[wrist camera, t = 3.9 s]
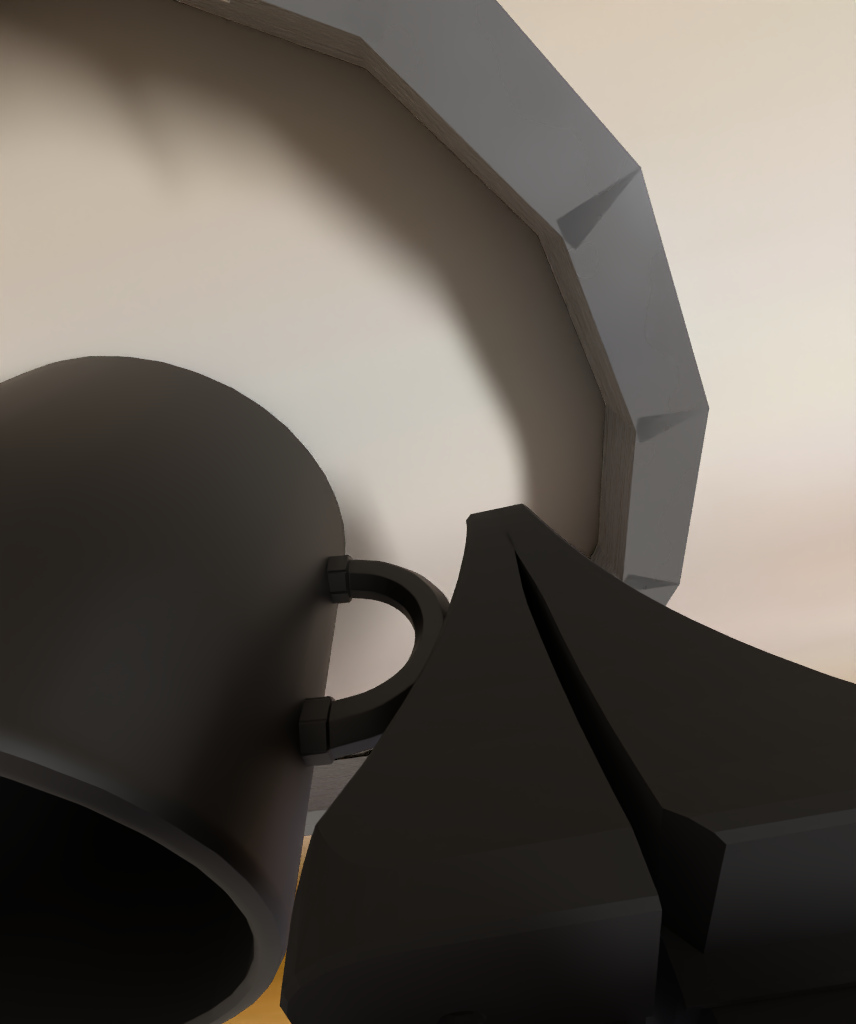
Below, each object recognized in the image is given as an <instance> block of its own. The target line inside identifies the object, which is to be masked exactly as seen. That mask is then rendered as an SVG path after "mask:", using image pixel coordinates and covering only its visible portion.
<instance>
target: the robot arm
mask: <svg viewBox="0 0 856 1024" xmlns="http://www.w3.org/2000/svg"><path fill="white" fill-rule="evenodd" d="M466 523H467V537H466V544H465V551H464V556H463V560H462V565H461V569H460V573H459V577H458V581H457V584H456V587H455V590H454V593H453V596H452V599H451V602H450V605H449V608H448V612H447V614H446V617H445V619H444V622H443V624H442V627H441V629H440V632H439V634H438V636H437V639H436V641H435V643H434V645H433V647H432V650H431V652H430V654H429V656H428V658H427V660H426V662H425V664H424V666H423V668H422V669H421V671H420V673H419V675H418V677H417V679H416V681H415V683H414V685H413V686H412V688H411V690H410V692H409V694H408V695H407V697H406V699H405V700H404V702H403V704H402V705H401V707H400V708H399V710H398V712H397V713H396V715H395V716H394V718H393V719H392V721H391V722H390V724H389V725H388V727H387V728H386V730H385V732H384V733H383V735H382V736H381V738H380V739H379V741H378V742H377V744H376V745H375V747H374V748H373V750H372V751H371V753H370V754H369V756H368V757H367V758H366V760H365V761H364V763H363V764H362V765H361V767H360V768H359V769H358V770H357V772H356V773H355V774H354V776H353V777H352V778H351V780H350V781H349V782H348V783H347V785H346V786H345V787H344V789H343V790H342V791H341V793H340V794H339V795H338V796H337V798H336V799H335V800H334V802H333V803H332V804H331V806H330V807H329V808H328V809H327V811H326V812H325V813H324V815H323V816H322V817H321V818H320V820H319V821H318V822H317V823H316V825H315V828H314V831H313V834H312V837H311V840H310V844H309V847H308V851H307V854H306V857H305V861H304V864H303V869H302V873H301V877H300V881H299V885H298V889H297V892H296V896H295V900H294V905H293V910H292V915H291V922H290V930H289V937H288V945H287V952H286V960H285V967H284V974H283V982H282V989H281V999H280V1007H281V1008H282V1010H283V1011H284V1013H285V1015H286V1016H287V1018H288V1019H289V1020H290V1022H291V1023H292V1024H856V684H854V683H851V682H848V681H845V680H842V679H838V678H835V677H832V676H829V675H827V674H824V673H821V672H818V671H815V670H813V669H810V668H807V667H805V666H802V665H799V664H797V663H794V662H791V661H789V660H786V659H783V658H781V657H778V656H775V655H773V654H770V653H767V652H765V651H762V650H760V649H758V648H755V647H753V646H750V645H748V644H745V643H743V642H740V641H738V640H736V639H733V638H731V637H729V636H727V635H724V634H722V633H720V632H718V631H716V630H713V629H711V628H709V627H707V626H705V625H702V624H700V623H698V622H696V621H694V620H692V619H690V618H688V617H686V616H683V615H681V614H679V613H677V612H675V611H673V610H671V609H670V608H668V607H666V606H664V605H662V604H660V603H659V602H657V601H655V600H653V599H651V598H650V597H648V596H646V595H644V594H642V593H640V592H639V591H637V590H635V589H634V588H632V587H631V586H629V585H627V584H626V583H624V582H623V581H621V580H620V579H618V578H617V577H615V576H614V575H612V574H611V573H609V572H608V571H606V570H605V569H603V568H602V567H600V566H599V565H597V564H596V563H595V562H593V561H592V560H590V559H589V558H588V557H586V556H585V555H584V554H582V553H581V552H580V551H578V550H577V549H576V548H575V547H573V546H572V545H571V544H569V543H568V542H567V541H566V540H564V539H563V538H562V537H561V536H559V535H558V534H557V533H556V532H555V531H553V530H552V529H551V528H550V527H549V526H548V525H546V524H545V523H544V522H543V521H542V520H541V519H540V518H539V517H538V516H536V515H535V514H534V513H533V512H532V511H531V510H530V509H529V508H528V507H527V506H525V505H524V504H518V505H513V506H508V507H503V508H499V509H494V510H489V511H484V512H480V513H475V514H471V515H470V516H469V517H468V519H467V520H466Z"/></svg>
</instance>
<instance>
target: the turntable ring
mask: <svg viewBox="0 0 856 1024" xmlns="http://www.w3.org/2000/svg"><path fill="white" fill-rule="evenodd" d="M175 1H178V2H181V3H184V4H186V5H189V6H192V7H195V8H197V9H200V10H203V11H206V12H209V13H211V14H214V15H217V16H220V17H223V18H225V19H228V20H231V21H234V22H237V23H239V24H242V25H245V26H248V27H251V28H253V29H256V30H259V31H262V32H265V33H267V34H270V35H273V36H276V37H279V38H281V39H284V40H287V41H290V42H293V43H295V44H298V45H301V46H304V47H307V48H309V49H312V50H315V51H318V52H321V53H323V54H326V55H329V56H332V57H335V58H337V59H340V60H343V61H346V62H349V63H351V64H354V65H357V66H360V67H363V68H365V69H367V70H368V71H369V72H370V73H371V74H372V75H373V76H374V77H375V78H376V79H377V80H378V81H380V82H381V83H382V84H383V85H384V86H385V87H386V88H387V89H388V90H389V91H390V92H391V93H392V94H393V95H394V96H395V97H396V98H397V99H398V100H399V101H400V102H401V103H402V104H403V105H404V106H405V107H406V108H407V109H408V110H409V111H410V112H411V113H413V114H414V115H415V116H416V117H417V118H418V119H419V120H420V121H421V122H422V123H423V124H424V125H425V126H426V127H427V128H428V129H429V130H430V131H431V132H432V133H433V134H434V135H435V136H436V137H437V138H438V139H439V140H440V141H441V142H442V143H443V144H444V145H445V146H447V147H448V148H449V149H450V150H451V151H452V152H453V153H454V154H455V155H456V156H457V157H458V158H459V159H460V160H461V161H462V162H463V163H464V164H465V165H466V166H467V167H468V168H469V169H470V170H471V171H472V172H473V173H474V174H475V175H476V176H477V177H478V178H480V179H481V180H482V181H483V182H484V183H485V184H486V185H487V186H488V187H489V188H490V189H491V190H492V191H493V192H494V193H495V194H496V195H497V196H498V197H499V198H500V199H501V200H502V201H503V202H504V203H505V204H506V205H507V206H508V207H509V208H510V209H511V210H512V211H514V212H515V213H516V214H517V215H518V216H519V217H520V218H521V219H522V220H523V221H524V222H525V223H526V224H527V225H528V226H529V227H530V228H531V229H532V230H533V231H534V232H535V233H536V234H537V235H538V237H539V240H540V242H541V245H542V247H543V250H544V252H545V255H546V257H547V260H548V262H549V265H550V267H551V270H552V272H553V275H554V277H555V280H556V282H557V285H558V287H559V290H560V292H561V295H562V297H563V300H564V302H565V305H566V307H567V310H568V312H569V315H570V317H571V320H572V322H573V325H574V327H575V330H576V332H577V335H578V337H579V340H580V342H581V345H582V347H583V350H584V352H585V355H586V357H587V359H588V362H589V364H590V367H591V369H592V372H593V374H594V377H595V379H596V382H597V384H598V387H599V389H600V392H601V394H602V397H603V399H604V402H605V422H604V440H603V458H602V477H601V495H600V513H599V532H598V544H597V546H596V548H595V550H594V552H593V554H592V556H591V558H590V560H592V561H593V562H595V563H596V564H597V565H599V566H600V567H602V568H603V569H605V570H606V571H608V572H609V573H611V574H612V575H614V576H615V577H617V578H618V579H620V580H621V581H623V582H624V583H626V584H627V585H629V586H631V587H632V588H634V589H635V590H637V591H639V592H640V593H642V594H644V595H646V596H648V597H650V598H651V599H653V600H655V601H657V602H659V603H660V604H662V605H664V606H666V604H667V602H668V601H669V599H670V598H671V596H672V595H673V593H674V592H675V590H676V589H677V587H678V586H679V584H680V578H681V572H682V566H683V560H684V555H685V549H686V543H687V537H688V531H689V525H690V519H691V513H692V507H693V501H694V495H695V489H696V483H697V477H698V471H699V465H700V459H701V453H702V447H703V441H704V435H705V429H706V423H707V417H708V412H709V406H708V402H707V399H706V395H705V392H704V388H703V385H702V381H701V378H700V374H699V371H698V367H697V364H696V360H695V357H694V353H693V350H692V346H691V343H690V339H689V335H688V332H687V328H686V325H685V321H684V318H683V314H682V311H681V307H680V304H679V300H678V297H677V293H676V290H675V286H674V283H673V279H672V276H671V272H670V269H669V265H668V262H667V258H666V254H665V251H664V247H663V244H662V240H661V237H660V233H659V230H658V226H657V223H656V219H655V216H654V212H653V209H652V205H651V202H650V198H649V195H648V191H647V188H646V184H645V181H644V177H643V174H642V170H641V166H639V165H638V164H637V162H636V161H635V160H634V159H633V158H632V157H631V155H630V154H629V153H628V152H627V151H626V150H625V149H624V147H623V146H622V145H621V144H620V143H619V142H618V140H617V139H616V138H615V137H614V136H613V135H612V134H611V132H610V131H609V130H608V129H607V128H606V127H605V125H604V124H603V123H602V122H601V121H600V120H599V119H598V117H597V116H596V115H595V114H594V113H593V112H592V110H591V109H590V108H589V107H588V106H587V105H586V103H585V102H584V101H583V100H582V99H581V98H580V97H579V95H578V94H577V93H576V92H575V91H574V90H573V88H572V87H571V86H570V85H569V84H568V83H567V82H566V80H565V79H564V78H563V77H562V76H561V75H560V73H559V72H558V71H557V70H556V69H555V68H554V67H553V65H552V64H551V63H550V62H549V61H548V60H547V58H546V57H545V56H544V55H543V54H542V53H541V52H540V50H539V49H538V48H537V47H536V46H535V45H534V43H533V42H532V41H531V40H530V39H529V38H528V36H527V35H526V34H525V33H524V32H523V31H522V30H521V28H520V27H519V26H518V25H517V24H516V23H515V21H514V20H513V19H512V18H511V17H510V16H509V15H508V13H507V12H506V11H505V10H504V9H503V8H502V6H501V5H500V4H499V3H498V2H497V1H496V0H175ZM368 756H369V755H368ZM368 756H364V757H356V758H349V759H341V760H334V762H333V763H332V764H329V765H318V766H314V770H313V776H312V783H311V790H310V797H309V804H308V810H307V817H306V824H305V831H304V836H308V835H312V834H313V831H314V828H315V825H316V823H317V822H318V821H319V820H320V818H321V817H322V816H323V815H324V813H325V812H326V811H327V809H328V808H329V807H330V806H331V804H332V803H333V802H334V800H335V799H336V798H337V796H338V795H339V794H340V793H341V791H342V790H343V789H344V787H345V786H346V785H347V783H348V782H349V781H350V780H351V778H352V777H353V776H354V774H355V773H356V772H357V770H358V769H359V768H360V767H361V765H362V764H363V763H364V761H365V760H366V758H367V757H368Z"/></svg>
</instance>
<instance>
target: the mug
mask: <svg viewBox="0 0 856 1024" xmlns="http://www.w3.org/2000/svg"><path fill="white" fill-rule="evenodd" d="M352 598H362V599H372V600H377V601H381V602H384V603H387V604H389V605H391V606H393V607H395V608H396V609H398V610H399V611H401V612H402V613H403V614H404V615H405V616H406V617H407V618H408V619H409V621H410V622H411V624H412V626H413V628H414V630H415V644H414V648H413V651H412V654H411V656H410V658H409V660H408V662H407V663H406V664H405V666H404V667H403V668H402V669H401V670H400V671H399V672H398V673H396V674H395V675H394V676H393V677H391V678H390V679H389V680H387V681H386V682H384V683H382V684H381V685H379V686H377V687H375V688H373V689H371V690H369V691H367V692H364V693H361V694H358V695H355V696H352V697H348V698H344V699H340V700H336V701H335V699H333V698H332V697H331V696H327V697H324V695H325V688H326V681H327V675H328V668H329V661H330V654H331V647H332V641H333V634H334V627H335V620H336V613H337V607H338V603H347V602H350V601H351V600H352ZM449 605H450V603H449V602H448V600H447V598H446V597H445V595H444V594H443V593H442V592H441V591H440V590H439V589H438V588H437V587H436V586H435V585H433V584H432V583H431V582H430V581H429V580H427V579H426V578H425V577H423V576H422V575H420V574H418V573H416V572H413V571H411V570H408V569H405V568H402V567H399V566H396V565H393V564H389V563H386V562H380V561H370V560H353V559H352V558H351V557H350V556H348V555H345V536H344V524H343V520H342V517H341V513H340V509H339V506H338V503H337V500H336V497H335V495H334V493H333V491H332V488H331V486H330V484H329V482H328V480H327V478H326V476H325V474H324V473H323V471H322V470H321V468H320V467H319V465H318V464H317V462H316V461H315V459H314V458H313V456H312V455H311V454H310V453H309V451H308V450H307V449H306V448H305V446H304V445H303V444H302V443H301V442H300V441H299V440H298V439H297V438H296V437H295V436H294V434H293V433H292V432H291V431H290V430H289V429H288V428H287V427H286V426H285V425H284V424H283V423H281V422H280V421H279V420H278V419H276V418H275V417H274V416H273V415H272V414H270V413H269V412H268V411H267V410H265V409H264V408H263V407H261V406H260V405H258V404H257V403H256V402H254V401H252V400H251V399H249V398H247V397H246V396H244V395H243V394H241V393H239V392H238V391H236V390H235V389H233V388H231V387H228V386H226V385H224V384H222V383H220V382H217V381H215V380H213V379H211V378H208V377H206V376H204V375H201V374H199V373H196V372H193V371H190V370H187V369H184V368H180V367H177V366H174V365H170V364H167V363H164V362H159V361H152V360H145V359H139V358H132V357H120V356H89V357H82V358H76V359H70V360H64V361H59V362H55V363H51V364H48V365H45V366H43V367H40V368H37V369H34V370H31V371H29V372H26V373H23V374H21V375H19V376H16V377H14V378H12V379H9V380H7V381H4V382H2V383H0V1024H222V1023H224V1022H226V1021H228V1020H229V1019H231V1018H233V1017H234V1016H236V1015H237V1014H239V1013H240V1012H242V1011H243V1010H245V1009H246V1008H247V1007H249V1006H250V1005H252V1004H253V1003H254V1002H255V1001H256V1000H257V999H258V998H259V997H260V996H261V995H262V994H263V992H264V991H265V990H266V989H267V988H268V987H269V985H270V984H271V982H272V981H273V979H274V977H275V974H276V972H277V970H278V968H279V966H280V964H281V962H282V960H283V957H284V955H285V953H286V950H287V945H288V937H289V930H290V922H291V915H292V910H293V905H294V899H295V892H296V885H297V878H298V872H299V865H300V858H301V851H302V844H303V838H304V831H305V824H306V817H307V810H308V804H309V797H310V790H311V783H312V776H313V770H314V766H318V765H329V764H332V763H333V762H334V759H337V758H340V757H344V756H348V755H351V754H355V753H358V752H362V751H365V750H369V749H372V748H374V747H375V745H376V744H377V742H378V741H379V739H380V738H381V736H382V735H383V733H384V732H385V730H386V728H387V727H388V725H389V724H390V722H391V721H392V719H393V718H394V716H395V715H396V713H397V712H398V710H399V708H400V707H401V705H402V704H403V702H404V700H405V699H406V697H407V695H408V694H409V692H410V690H411V688H412V686H413V685H414V683H415V681H416V679H417V677H418V675H419V673H420V671H421V669H422V668H423V666H424V664H425V662H426V660H427V658H428V656H429V654H430V652H431V650H432V647H433V645H434V643H435V641H436V639H437V636H438V634H439V632H440V629H441V627H442V624H443V622H444V619H445V617H446V614H447V612H448V608H449Z"/></svg>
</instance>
